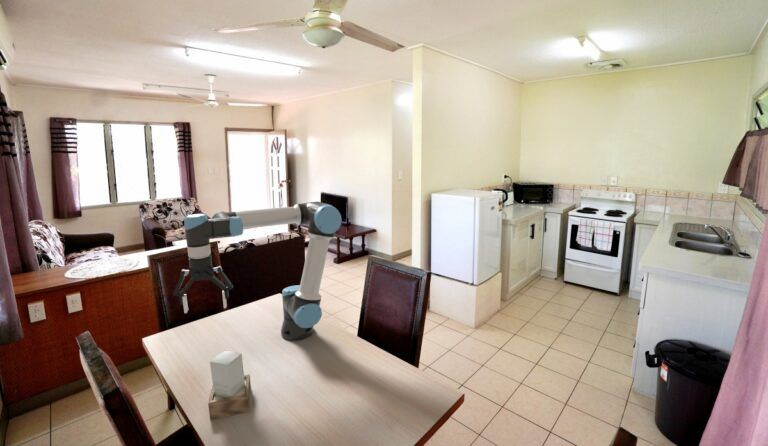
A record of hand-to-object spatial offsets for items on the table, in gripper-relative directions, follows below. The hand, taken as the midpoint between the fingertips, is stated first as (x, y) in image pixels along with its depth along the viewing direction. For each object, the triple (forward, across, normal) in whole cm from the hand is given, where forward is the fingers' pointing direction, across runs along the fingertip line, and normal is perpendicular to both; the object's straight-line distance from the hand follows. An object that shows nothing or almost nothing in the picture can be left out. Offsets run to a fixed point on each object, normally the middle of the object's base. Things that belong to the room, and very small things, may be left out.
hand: (206, 309), depth 137 cm
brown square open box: (+27, -9, +22) cm, 36 cm away
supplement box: (+22, -9, +22) cm, 32 cm away
